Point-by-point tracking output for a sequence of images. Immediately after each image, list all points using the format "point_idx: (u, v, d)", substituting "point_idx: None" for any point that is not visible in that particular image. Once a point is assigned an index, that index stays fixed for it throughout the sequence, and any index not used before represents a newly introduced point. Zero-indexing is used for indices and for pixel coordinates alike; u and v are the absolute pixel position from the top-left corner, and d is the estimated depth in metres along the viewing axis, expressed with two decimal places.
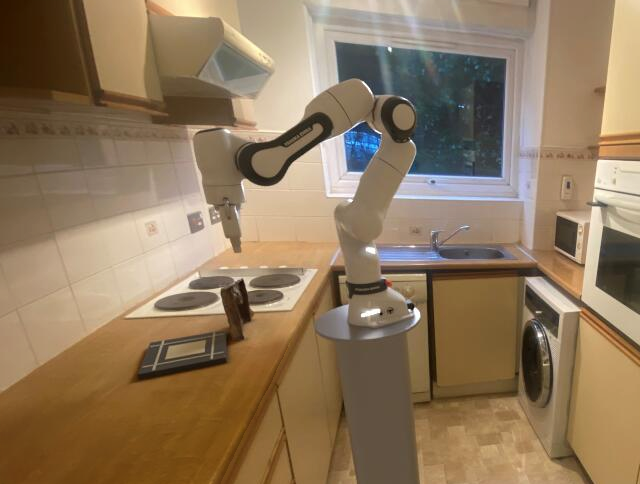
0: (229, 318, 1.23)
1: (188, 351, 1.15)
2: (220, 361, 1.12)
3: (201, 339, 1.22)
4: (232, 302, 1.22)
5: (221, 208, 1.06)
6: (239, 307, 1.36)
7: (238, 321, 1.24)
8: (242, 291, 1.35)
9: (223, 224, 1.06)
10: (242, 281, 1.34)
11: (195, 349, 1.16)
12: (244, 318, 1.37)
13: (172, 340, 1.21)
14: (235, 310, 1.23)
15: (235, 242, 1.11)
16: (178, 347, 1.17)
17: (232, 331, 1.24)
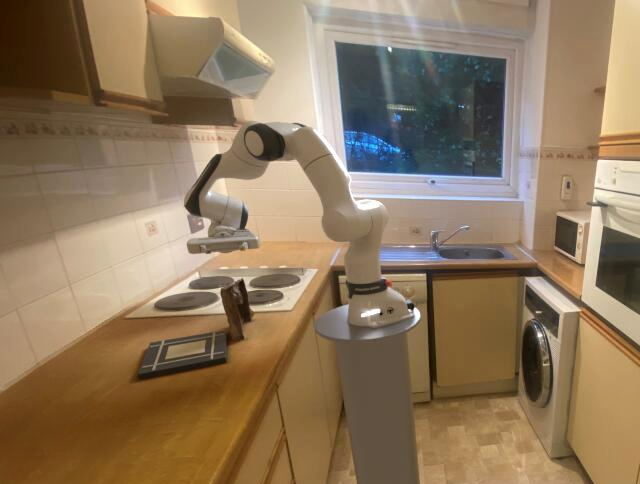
0: (229, 318, 1.23)
1: (188, 351, 1.15)
2: (220, 361, 1.12)
3: (201, 339, 1.22)
4: (232, 302, 1.22)
5: None
6: (239, 307, 1.36)
7: (238, 321, 1.24)
8: (242, 291, 1.35)
9: None
10: (242, 281, 1.34)
11: (195, 349, 1.16)
12: (244, 318, 1.37)
13: (172, 340, 1.21)
14: (235, 310, 1.23)
15: (202, 249, 1.38)
16: (178, 347, 1.17)
17: (232, 331, 1.24)
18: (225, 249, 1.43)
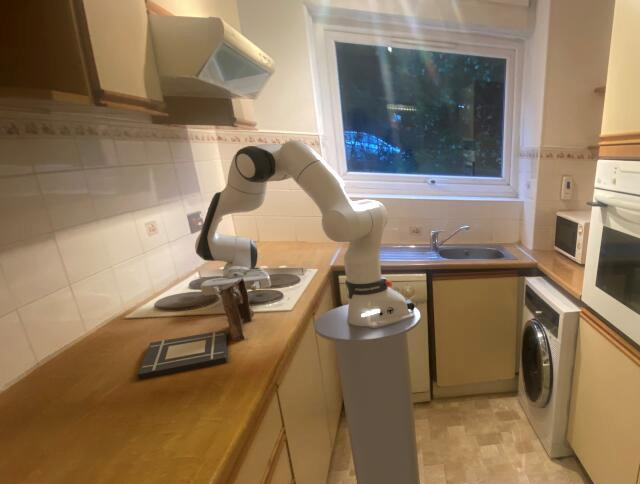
0: (229, 318, 1.23)
1: (188, 351, 1.15)
2: (220, 361, 1.12)
3: (201, 339, 1.22)
4: (232, 302, 1.22)
5: None
6: (239, 307, 1.36)
7: (238, 321, 1.24)
8: (242, 291, 1.35)
9: None
10: (242, 281, 1.34)
11: (195, 349, 1.16)
12: (244, 318, 1.37)
13: (172, 340, 1.21)
14: (235, 310, 1.23)
15: (215, 291, 1.41)
16: (178, 347, 1.17)
17: (232, 331, 1.24)
18: None
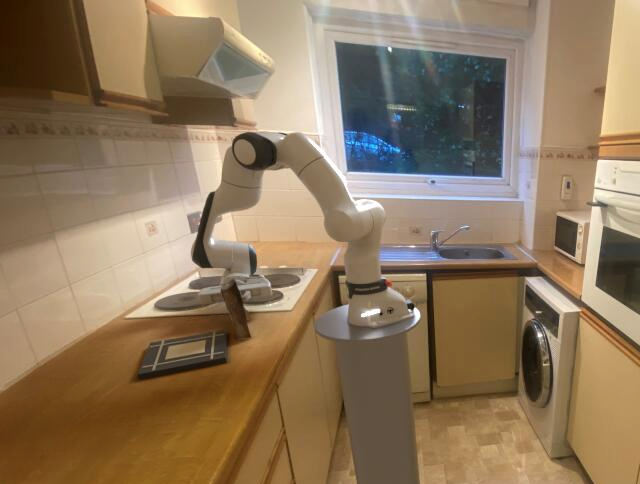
0: (234, 318, 1.23)
1: (188, 351, 1.15)
2: (220, 361, 1.12)
3: (201, 339, 1.22)
4: (235, 301, 1.23)
5: None
6: None
7: (243, 319, 1.25)
8: (235, 291, 1.34)
9: None
10: (234, 281, 1.33)
11: (195, 349, 1.16)
12: None
13: (172, 340, 1.21)
14: (239, 309, 1.23)
15: None
16: (178, 347, 1.17)
17: (238, 330, 1.25)
18: None
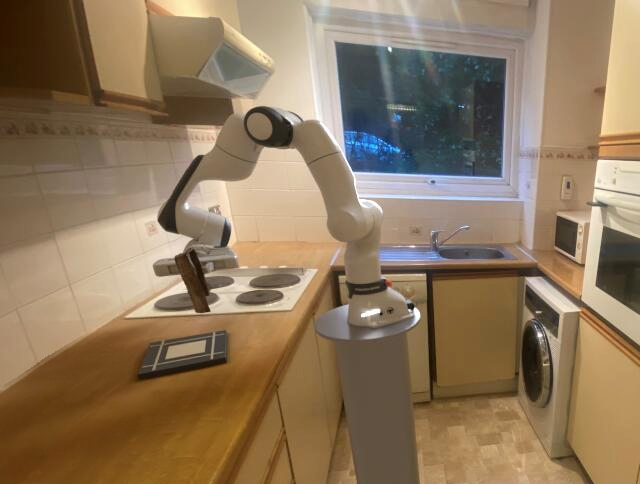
0: (190, 289, 1.10)
1: (188, 351, 1.15)
2: (220, 361, 1.12)
3: (201, 339, 1.22)
4: (191, 270, 1.09)
5: None
6: None
7: (201, 291, 1.11)
8: (194, 262, 1.21)
9: None
10: (193, 250, 1.20)
11: (195, 349, 1.16)
12: None
13: (172, 340, 1.21)
14: (196, 279, 1.10)
15: None
16: (178, 347, 1.17)
17: (195, 303, 1.11)
18: None
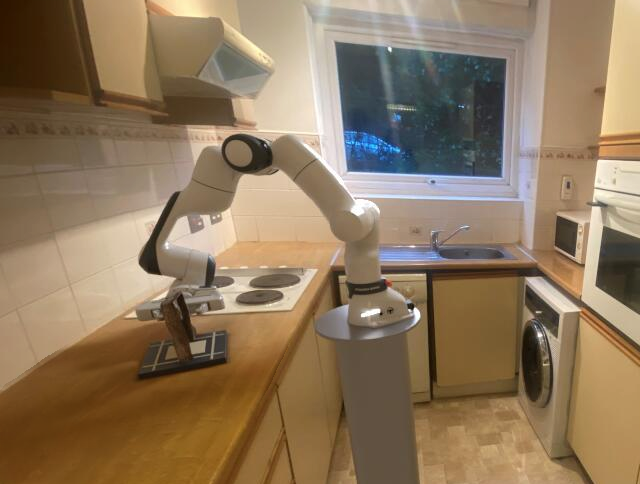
0: (174, 337, 1.07)
1: None
2: (220, 361, 1.12)
3: (201, 339, 1.22)
4: (177, 318, 1.07)
5: None
6: None
7: (185, 339, 1.09)
8: (181, 306, 1.18)
9: None
10: (180, 294, 1.18)
11: (195, 349, 1.16)
12: None
13: None
14: (181, 327, 1.08)
15: (154, 315, 1.17)
16: None
17: (178, 351, 1.08)
18: None
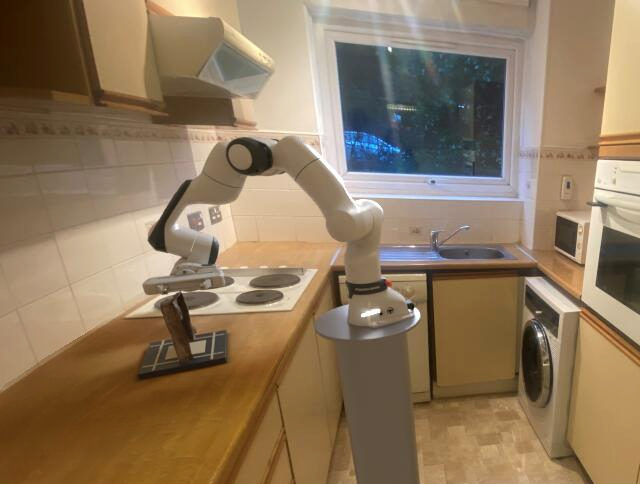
0: (174, 337, 1.07)
1: None
2: (220, 361, 1.12)
3: (201, 339, 1.22)
4: (177, 318, 1.07)
5: None
6: None
7: (185, 339, 1.09)
8: (181, 306, 1.18)
9: None
10: (180, 294, 1.18)
11: (195, 349, 1.16)
12: None
13: None
14: (181, 327, 1.08)
15: (158, 290, 1.26)
16: None
17: (178, 351, 1.08)
18: (186, 288, 1.31)
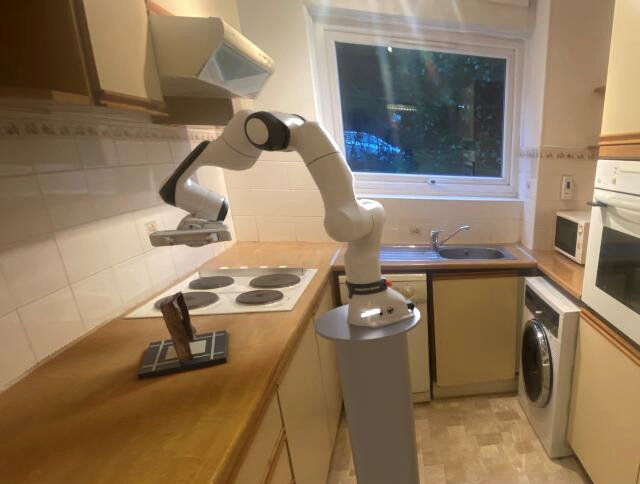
0: (174, 337, 1.07)
1: None
2: (220, 361, 1.12)
3: (201, 339, 1.22)
4: (177, 318, 1.07)
5: None
6: None
7: (185, 339, 1.09)
8: (181, 306, 1.18)
9: None
10: (180, 294, 1.18)
11: (195, 349, 1.16)
12: None
13: None
14: (181, 327, 1.08)
15: (165, 241, 1.26)
16: None
17: (178, 351, 1.08)
18: (192, 241, 1.31)
